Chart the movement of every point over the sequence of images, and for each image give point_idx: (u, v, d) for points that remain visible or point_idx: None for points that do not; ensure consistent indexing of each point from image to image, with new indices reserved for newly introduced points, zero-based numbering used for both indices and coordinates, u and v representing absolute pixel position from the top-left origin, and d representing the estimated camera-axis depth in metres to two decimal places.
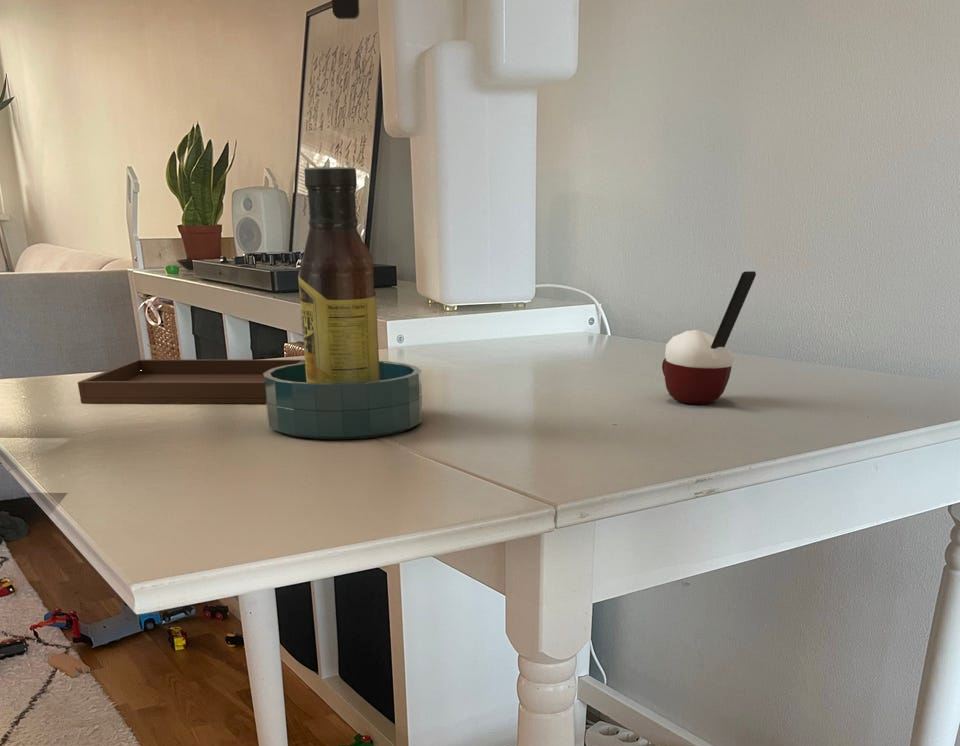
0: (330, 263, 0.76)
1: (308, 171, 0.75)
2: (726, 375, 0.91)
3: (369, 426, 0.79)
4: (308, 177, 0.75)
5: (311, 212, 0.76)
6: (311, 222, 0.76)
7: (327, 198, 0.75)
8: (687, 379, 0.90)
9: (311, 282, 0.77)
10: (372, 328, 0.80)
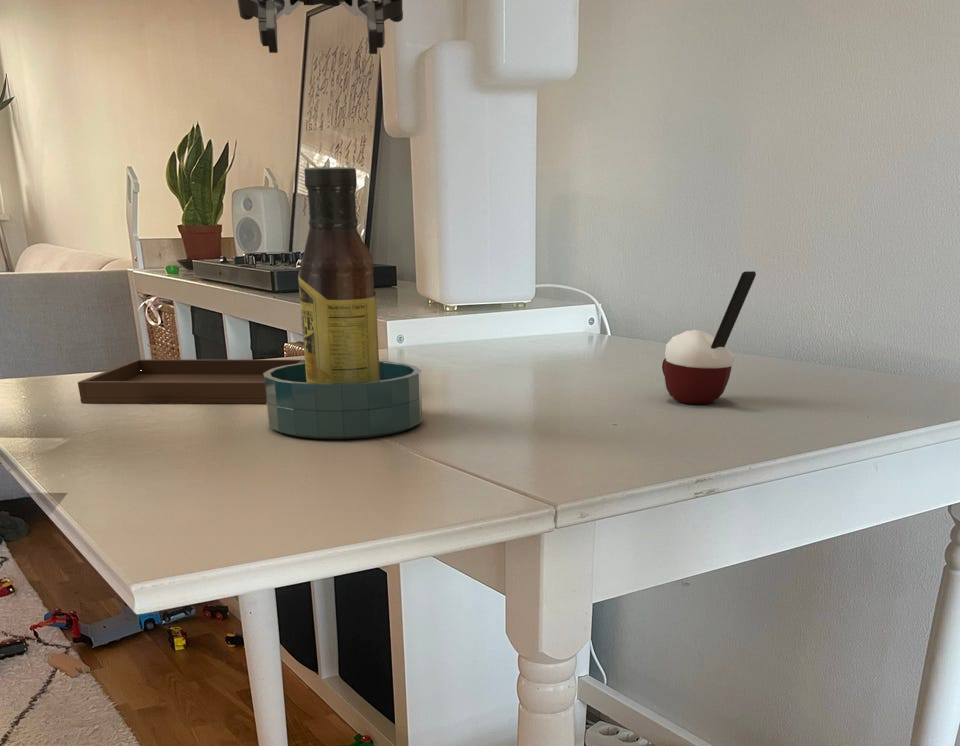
0: (330, 263, 0.76)
1: (308, 171, 0.75)
2: (726, 375, 0.91)
3: (369, 426, 0.79)
4: (308, 177, 0.75)
5: (311, 212, 0.76)
6: (311, 222, 0.76)
7: (327, 198, 0.75)
8: (687, 379, 0.90)
9: (311, 282, 0.77)
10: (372, 328, 0.80)
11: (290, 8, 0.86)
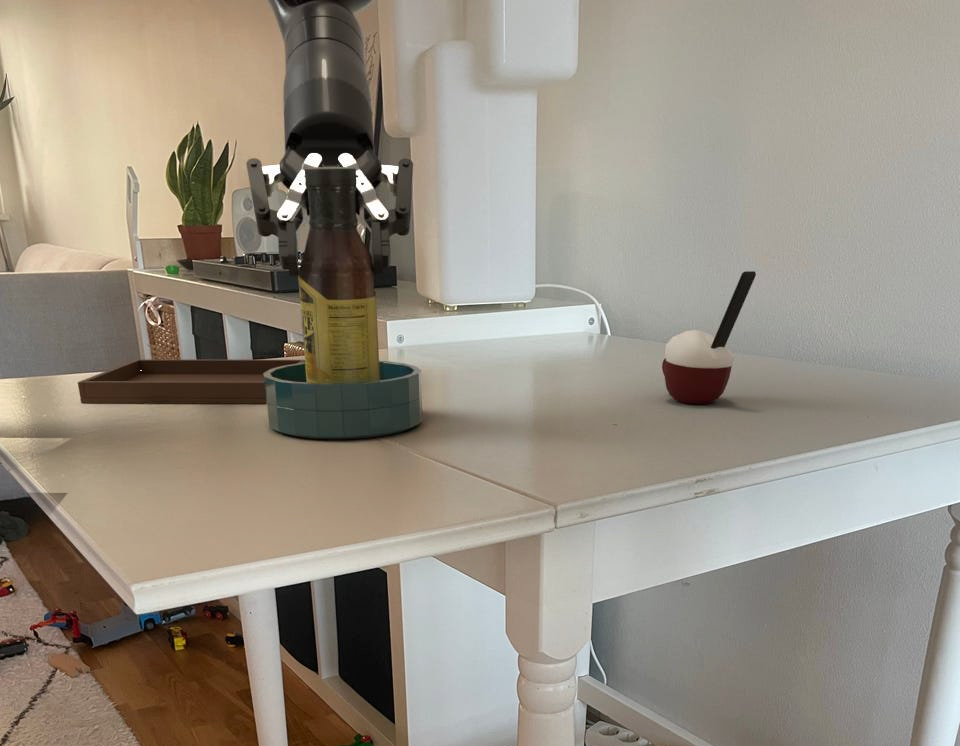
0: (330, 264, 0.76)
1: (308, 171, 0.75)
2: (726, 375, 0.91)
3: (369, 426, 0.79)
4: (308, 177, 0.75)
5: (311, 212, 0.76)
6: (311, 222, 0.76)
7: (327, 198, 0.75)
8: (687, 379, 0.90)
9: (312, 282, 0.77)
10: (372, 328, 0.80)
11: (307, 218, 0.81)
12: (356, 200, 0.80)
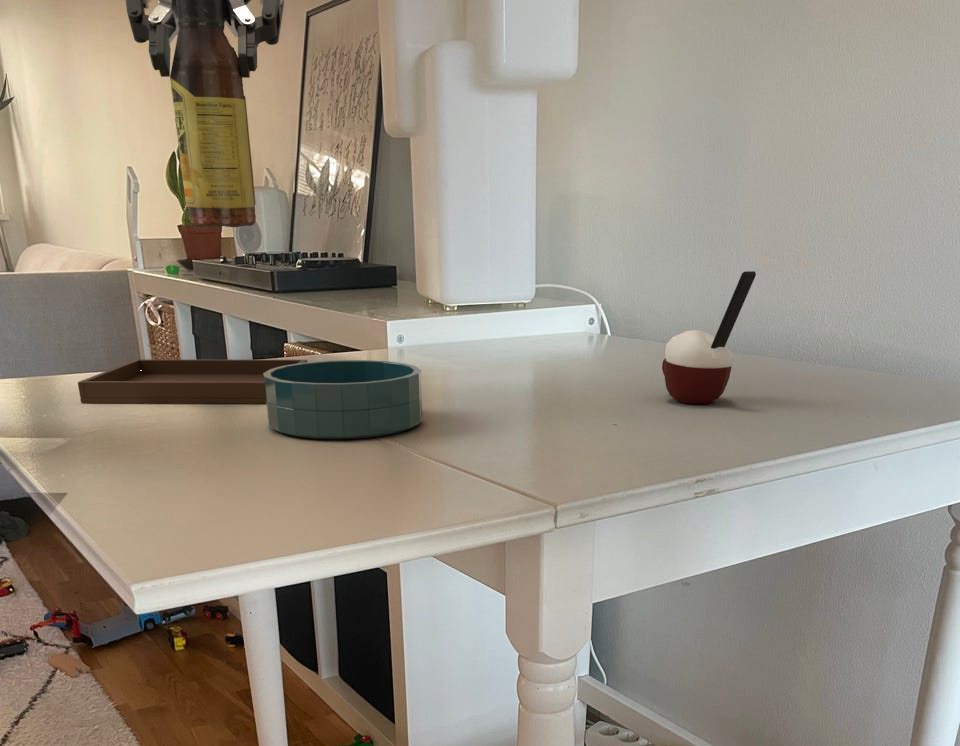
0: (195, 60, 0.81)
1: None
2: (726, 375, 0.91)
3: (369, 426, 0.79)
4: None
5: (178, 12, 0.81)
6: (179, 22, 0.82)
7: None
8: (687, 379, 0.90)
9: (180, 80, 0.82)
10: (242, 130, 0.85)
11: None
12: (226, 9, 0.85)
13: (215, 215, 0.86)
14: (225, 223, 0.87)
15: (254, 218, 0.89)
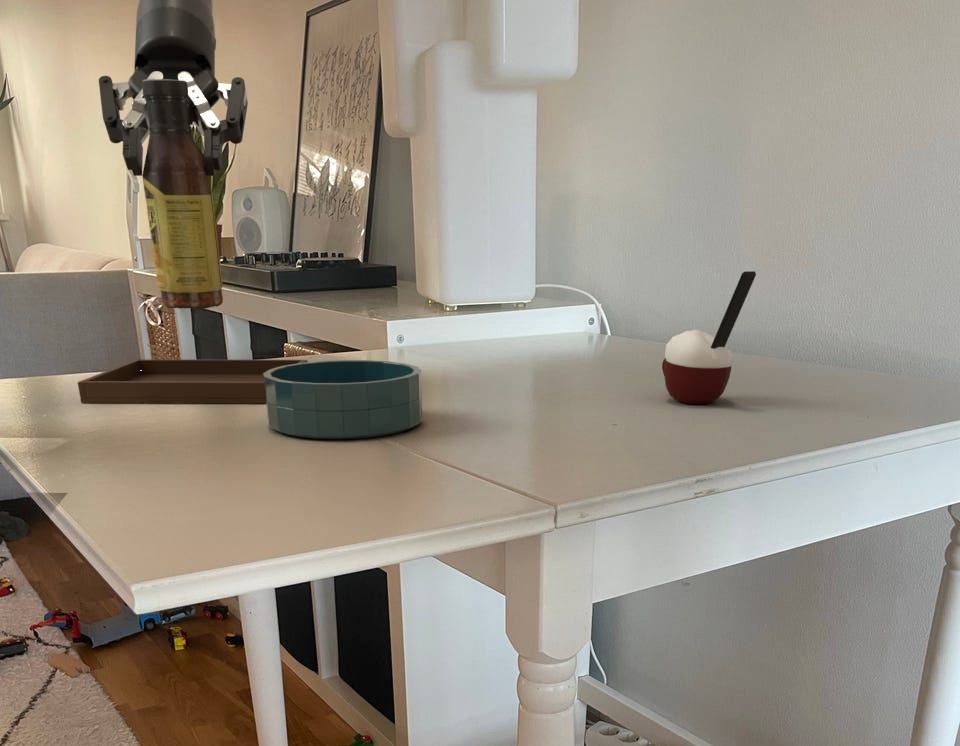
0: (165, 163, 0.89)
1: (144, 82, 0.88)
2: (726, 375, 0.91)
3: (369, 426, 0.79)
4: (144, 88, 0.88)
5: (149, 119, 0.89)
6: (149, 128, 0.90)
7: (160, 106, 0.88)
8: (687, 379, 0.90)
9: (151, 180, 0.90)
10: (208, 222, 0.93)
11: None
12: (194, 112, 0.93)
13: (185, 299, 0.95)
14: (194, 306, 0.95)
15: (221, 299, 0.97)
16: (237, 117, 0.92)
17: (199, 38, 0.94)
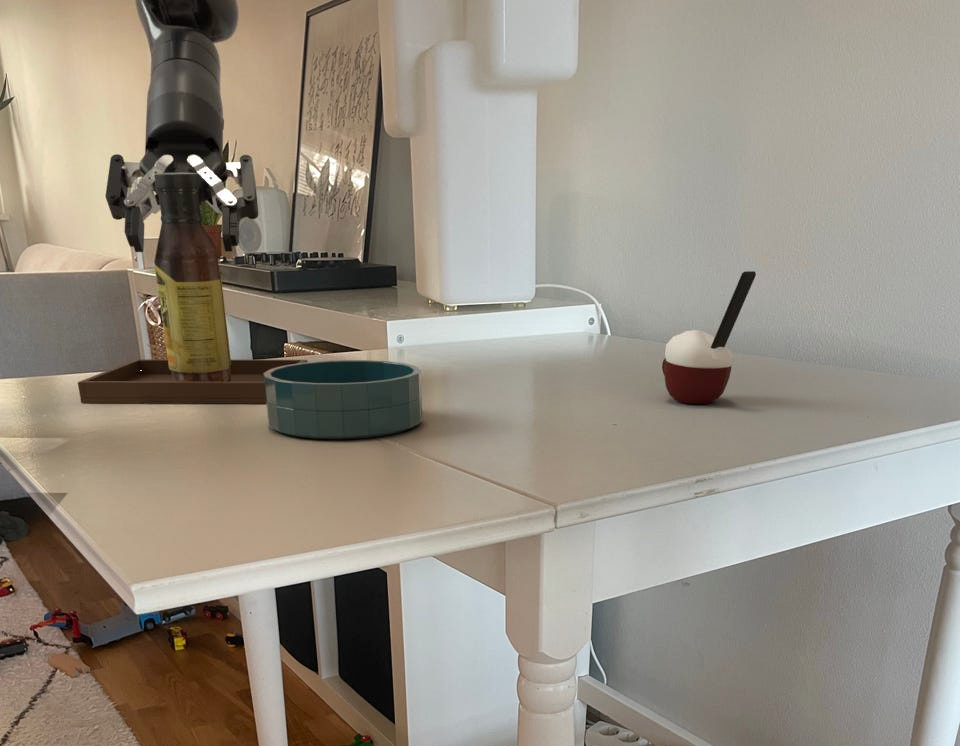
0: (176, 252, 0.92)
1: (156, 176, 0.91)
2: (726, 375, 0.91)
3: (369, 426, 0.79)
4: (156, 181, 0.91)
5: (161, 210, 0.93)
6: (161, 218, 0.93)
7: (172, 198, 0.91)
8: (687, 379, 0.90)
9: (163, 267, 0.94)
10: (218, 306, 0.96)
11: (158, 207, 0.97)
12: (203, 194, 0.96)
13: (195, 378, 0.98)
14: None
15: (230, 377, 1.00)
16: (254, 194, 0.95)
17: (208, 121, 0.96)
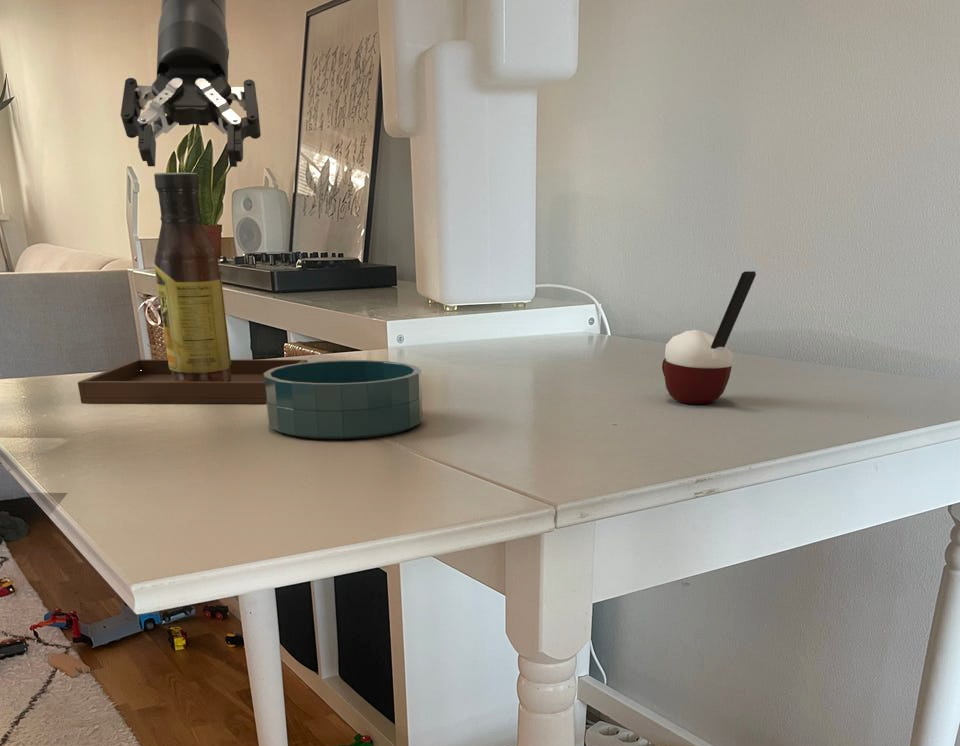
0: (176, 252, 0.92)
1: (156, 176, 0.91)
2: (726, 375, 0.91)
3: (369, 426, 0.79)
4: (156, 181, 0.91)
5: (161, 210, 0.93)
6: (161, 218, 0.93)
7: (172, 198, 0.91)
8: (687, 379, 0.90)
9: (163, 267, 0.93)
10: (218, 306, 0.96)
11: (168, 127, 1.05)
12: (210, 114, 1.05)
13: (195, 378, 0.98)
14: None
15: (230, 377, 1.00)
16: (256, 114, 1.04)
17: (214, 48, 1.05)
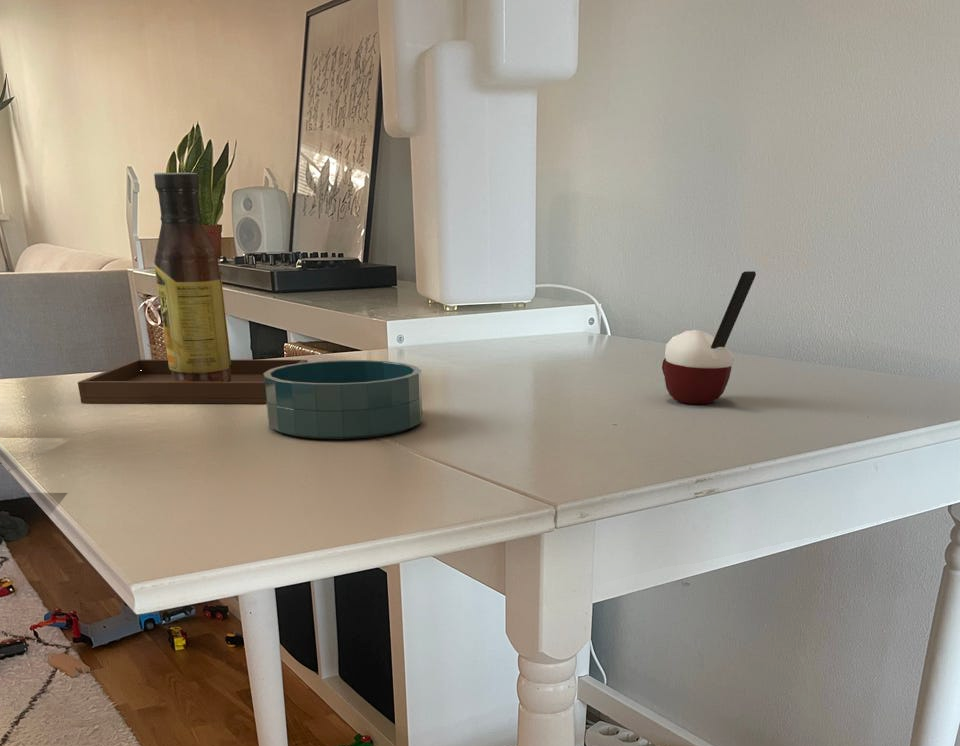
0: (176, 252, 0.92)
1: (156, 176, 0.91)
2: (726, 375, 0.91)
3: (369, 426, 0.79)
4: (156, 181, 0.91)
5: (161, 210, 0.93)
6: (161, 218, 0.93)
7: (172, 198, 0.91)
8: (687, 379, 0.90)
9: (163, 267, 0.93)
10: (218, 306, 0.96)
11: None
12: None
13: (195, 378, 0.98)
14: None
15: (230, 377, 1.00)
16: None
17: None
